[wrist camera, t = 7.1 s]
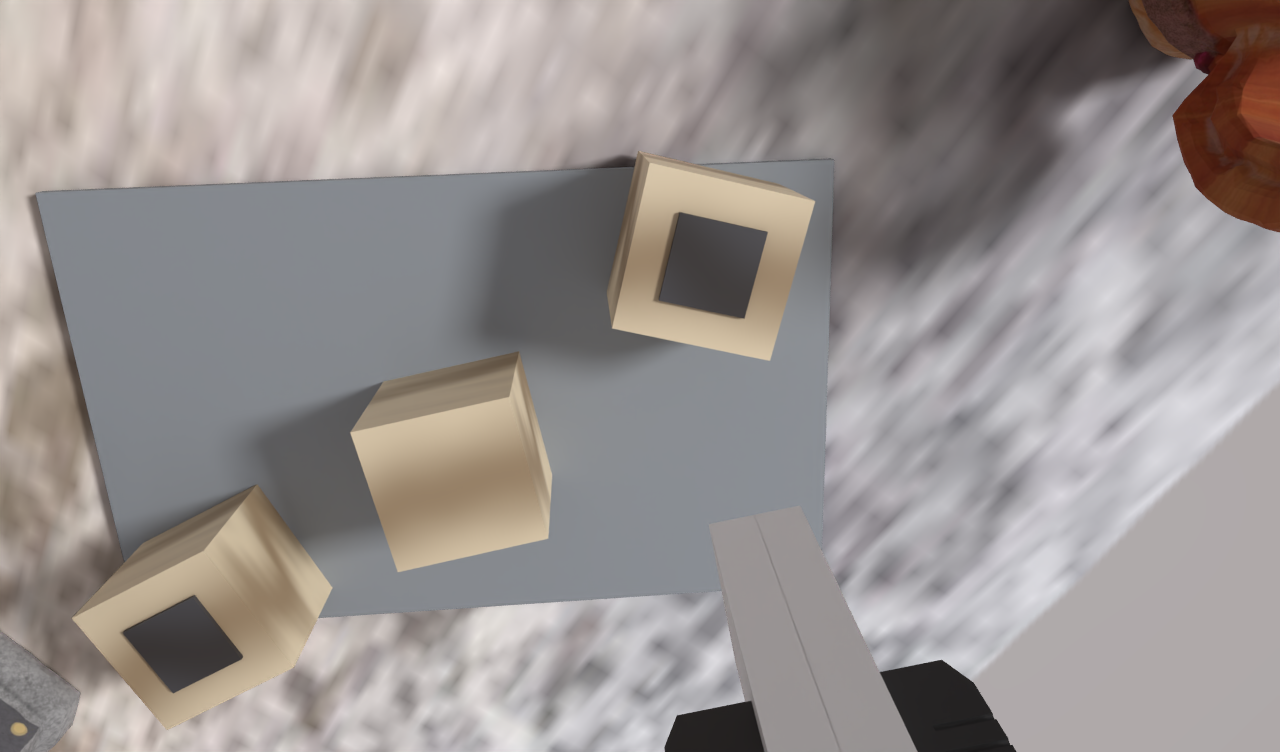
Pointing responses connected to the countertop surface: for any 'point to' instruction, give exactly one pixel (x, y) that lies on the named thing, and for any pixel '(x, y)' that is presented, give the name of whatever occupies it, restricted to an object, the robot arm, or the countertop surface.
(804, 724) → the robot arm
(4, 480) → the countertop surface
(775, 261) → the labelled block
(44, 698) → the figurine
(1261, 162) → the mug
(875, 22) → the countertop surface
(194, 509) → the mat
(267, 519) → the labelled block
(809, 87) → the countertop surface
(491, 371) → the plain block
